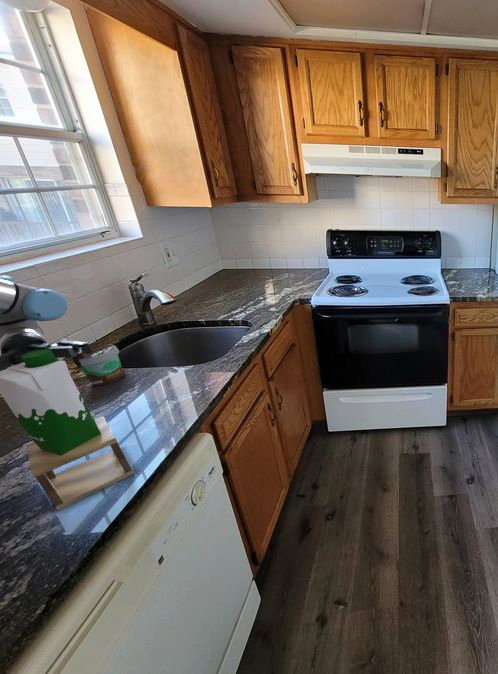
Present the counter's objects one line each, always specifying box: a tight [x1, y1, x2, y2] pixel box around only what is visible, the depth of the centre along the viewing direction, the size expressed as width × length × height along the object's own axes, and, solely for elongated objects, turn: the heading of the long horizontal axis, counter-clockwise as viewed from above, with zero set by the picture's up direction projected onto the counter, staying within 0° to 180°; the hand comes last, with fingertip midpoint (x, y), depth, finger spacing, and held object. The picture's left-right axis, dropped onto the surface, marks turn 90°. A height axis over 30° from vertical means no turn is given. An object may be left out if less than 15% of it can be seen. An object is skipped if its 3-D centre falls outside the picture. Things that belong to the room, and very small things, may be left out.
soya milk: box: [0, 349, 101, 456], centre depth 73 cm, size 9×9×20 cm
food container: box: [79, 343, 125, 387], centre depth 119 cm, size 12×6×10 cm, turn 0°
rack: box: [25, 415, 135, 511], centre depth 79 cm, size 12×12×10 cm
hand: (33, 374), depth 75 cm, fingers open, 13 cm apart
